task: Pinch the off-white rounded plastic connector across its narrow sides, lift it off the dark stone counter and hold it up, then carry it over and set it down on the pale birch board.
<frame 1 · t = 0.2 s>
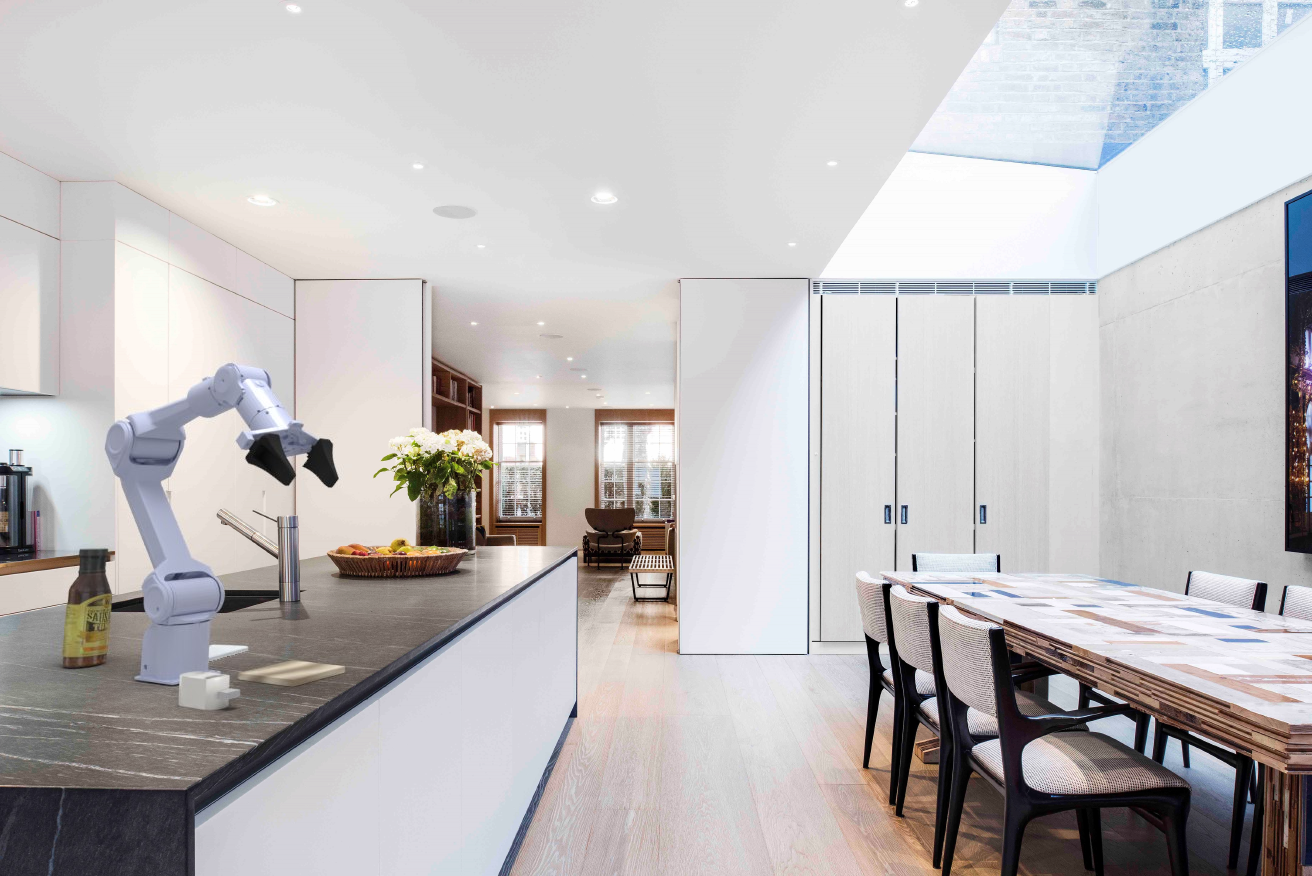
hand: (312, 481, 108), 31 cm above the counter, tool tilted 45°, fingers open, 7 cm apart
sauce bottle: (85, 666, 127), on the counter
birch board: (292, 675, 118), on the counter
connector: (203, 705, 102), on the counter
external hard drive: (202, 662, 133), on the counter
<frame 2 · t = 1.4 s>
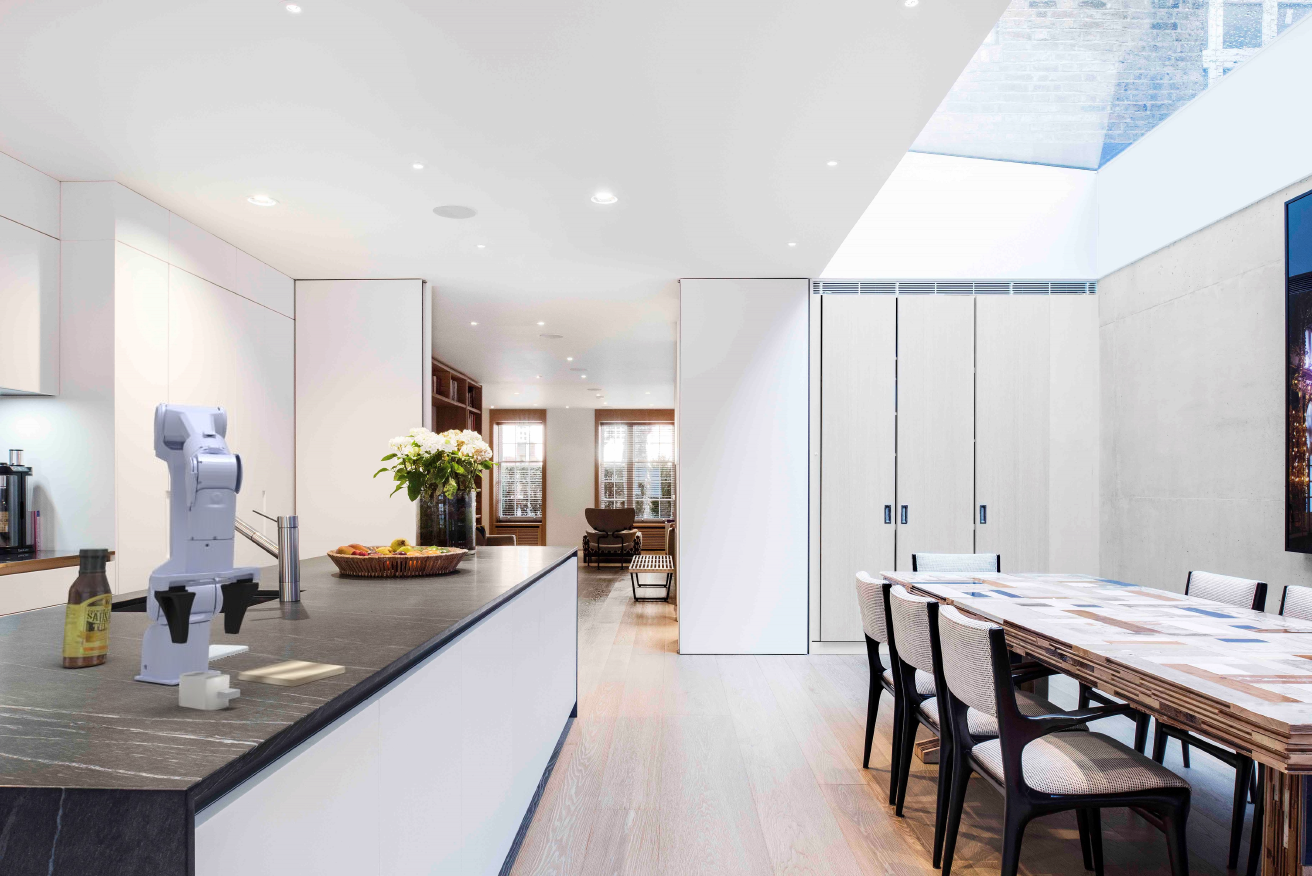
hand: (206, 638, 102), 9 cm above the counter, tool pointing down, fingers open, 7 cm apart
nothing on the counter moved.
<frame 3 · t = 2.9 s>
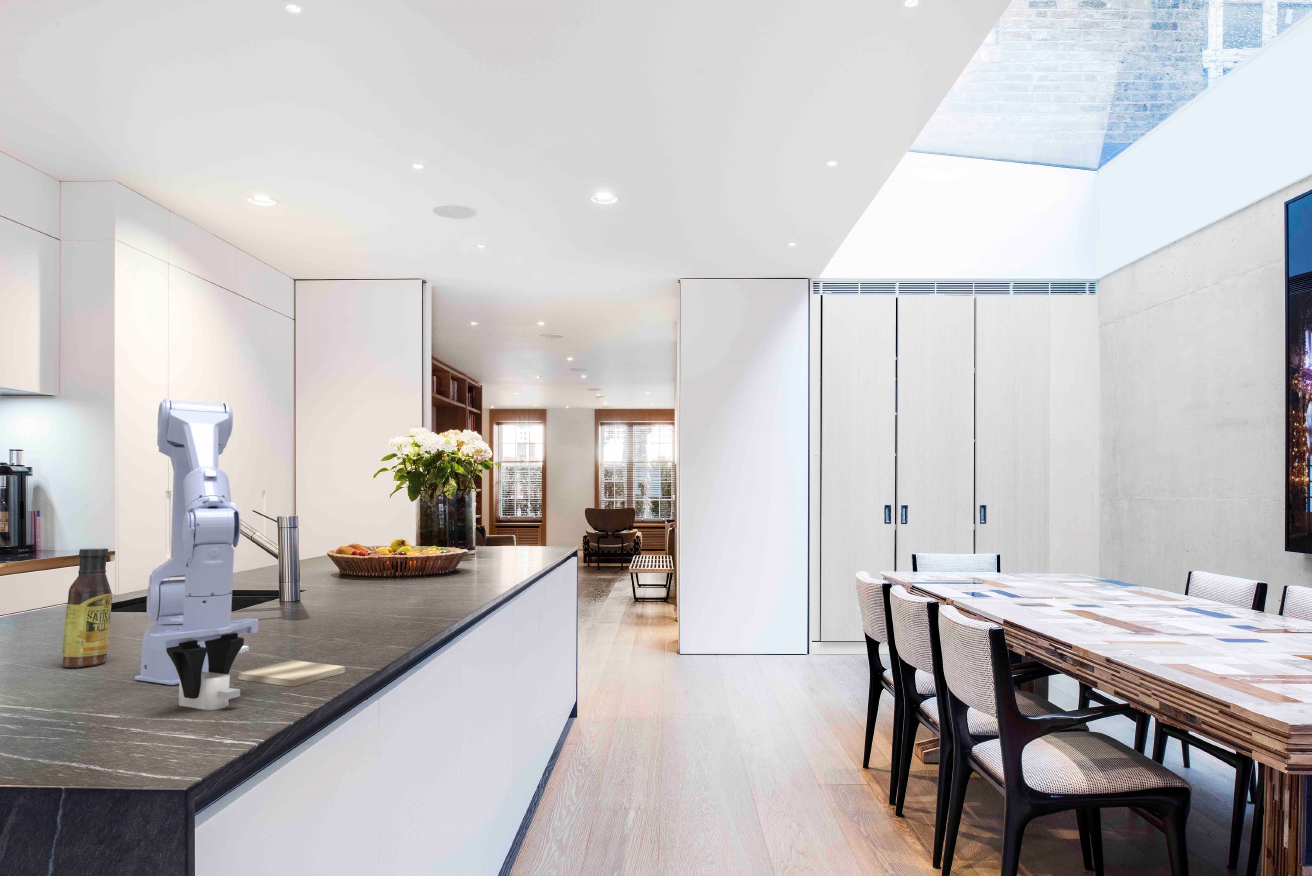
hand: (203, 694, 102), 1 cm above the counter, tool pointing down, fingers closed on connector, 3 cm apart
connector: (203, 705, 102), on the counter, touching gripper
everything else where it was.
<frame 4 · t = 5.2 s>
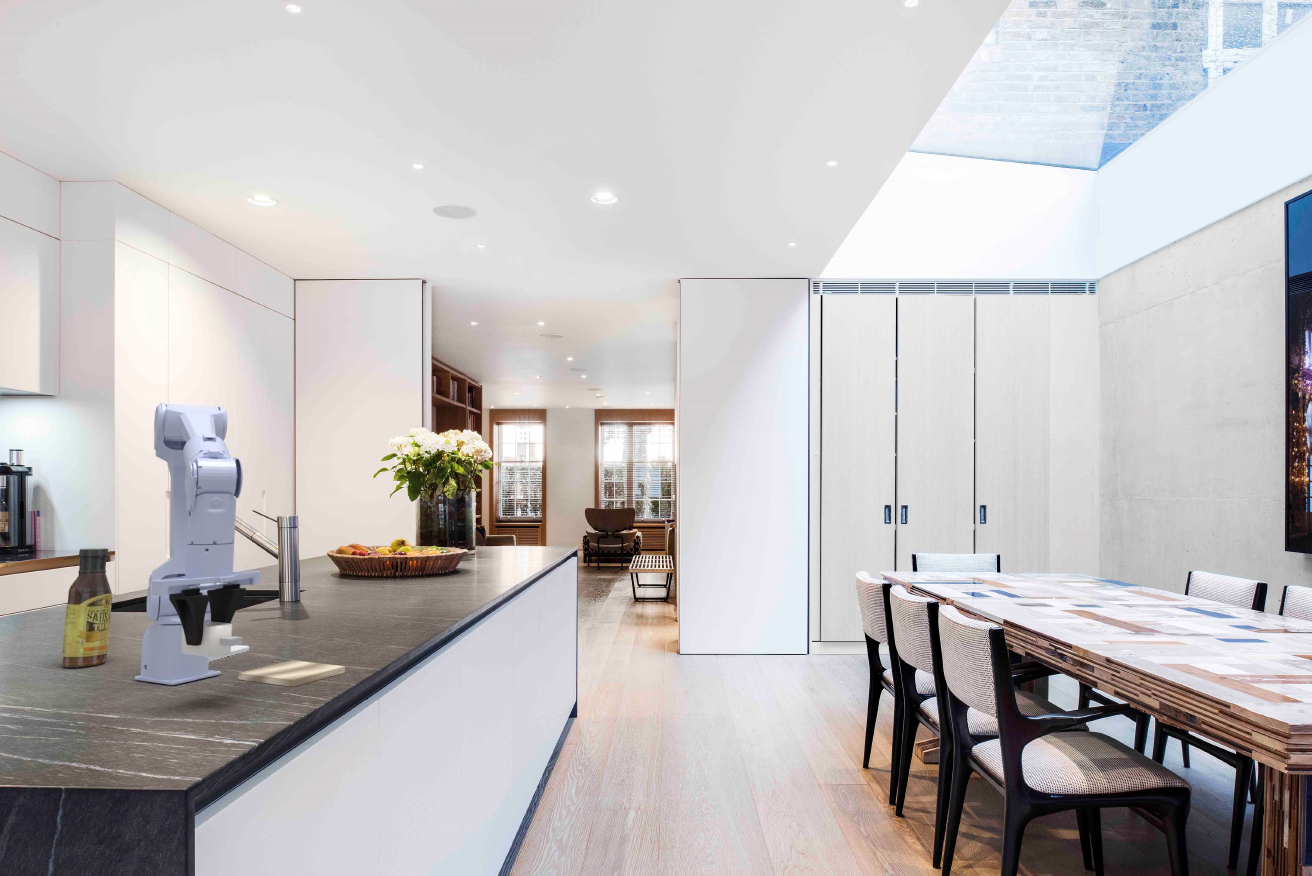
hand: (206, 642, 102), 8 cm above the counter, tool pointing down, fingers closed on connector, 3 cm apart
connector: (205, 653, 102), point 7 cm above the counter, touching gripper
everything else where it was.
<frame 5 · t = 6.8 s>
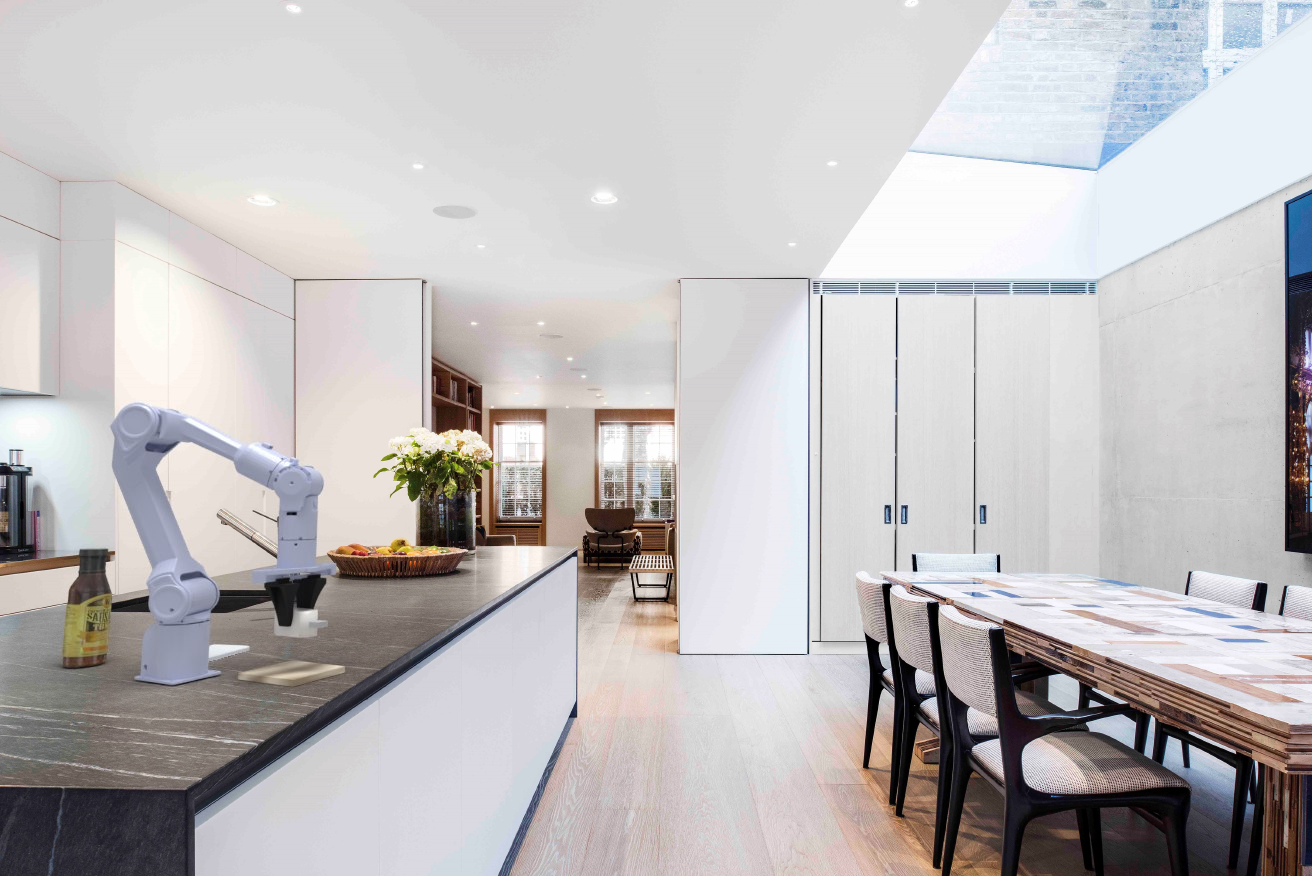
hand: (294, 624, 119), 8 cm above the counter, tool pointing down, fingers closed on connector, 3 cm apart
connector: (295, 634, 119), point 6 cm above the counter, touching gripper
everything else where it was.
when the fingers open (3 cm above the counter, at t = 7.9 s): connector stays where it is, resting on birch board.
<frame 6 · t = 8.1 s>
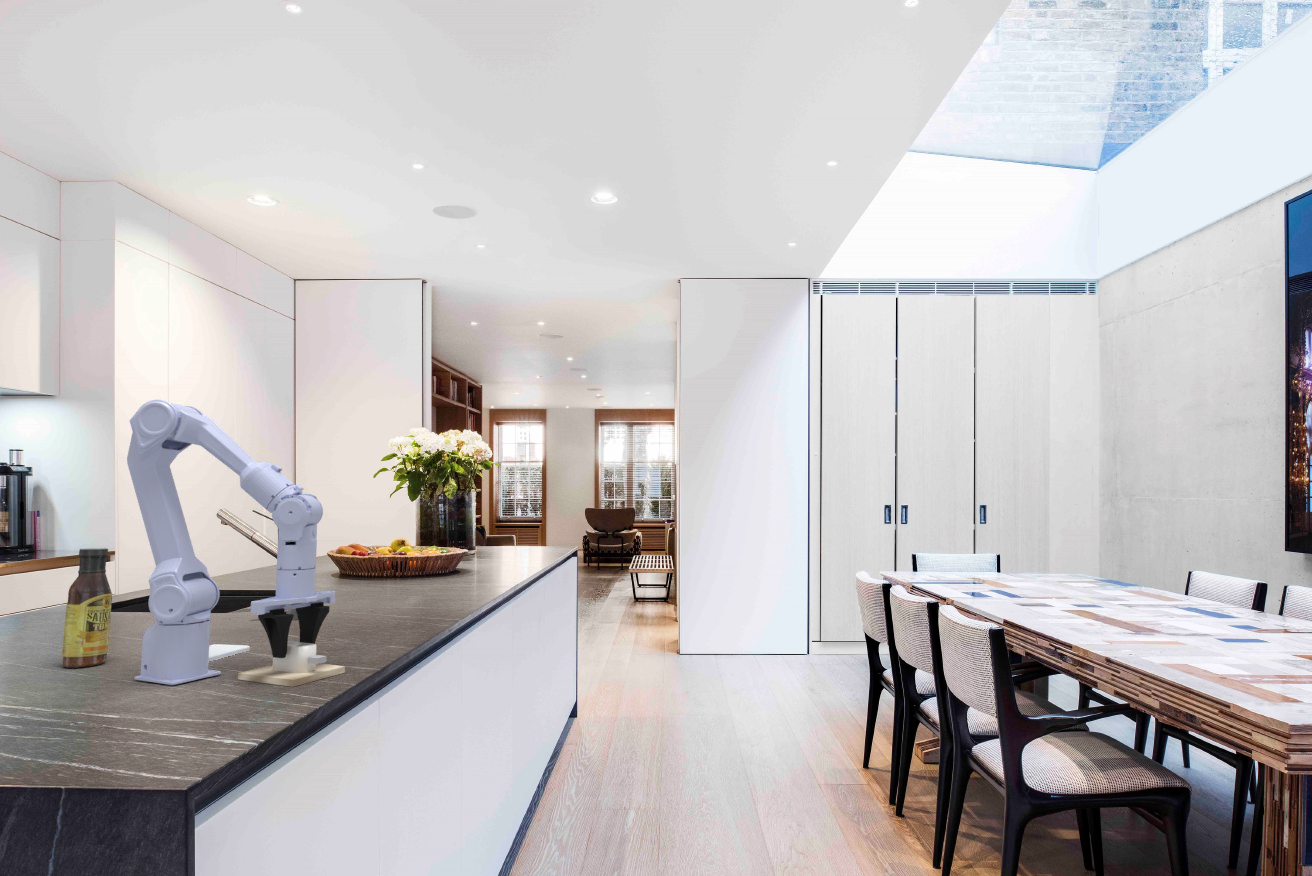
hand: (293, 654, 119), 3 cm above the counter, tool pointing down, fingers open, 5 cm apart
connector: (294, 669, 118), point 1 cm above the counter, touching birch board
everything else where it was.
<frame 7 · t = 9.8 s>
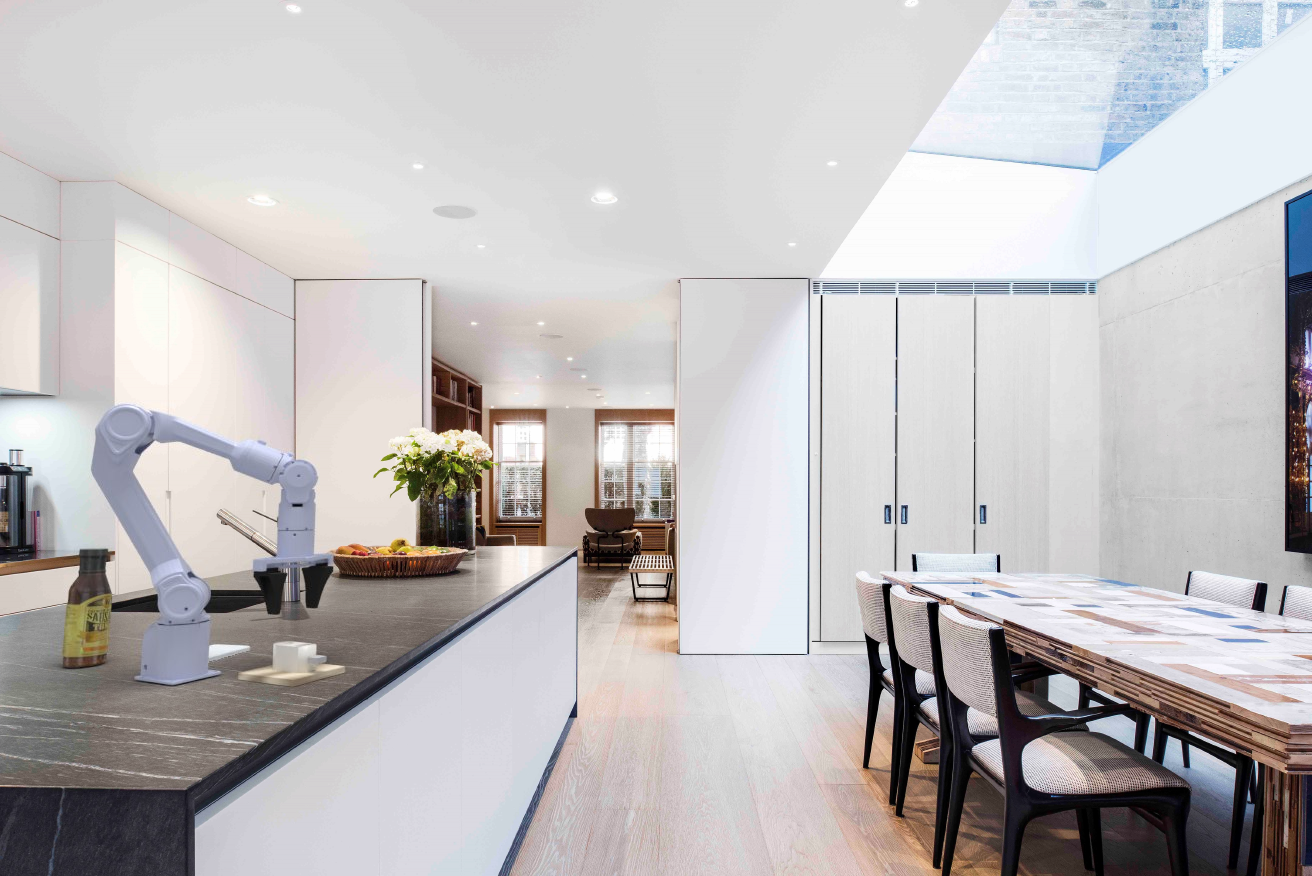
hand: (293, 611, 125), 9 cm above the counter, tool pointing down, fingers open, 7 cm apart
nothing on the counter moved.
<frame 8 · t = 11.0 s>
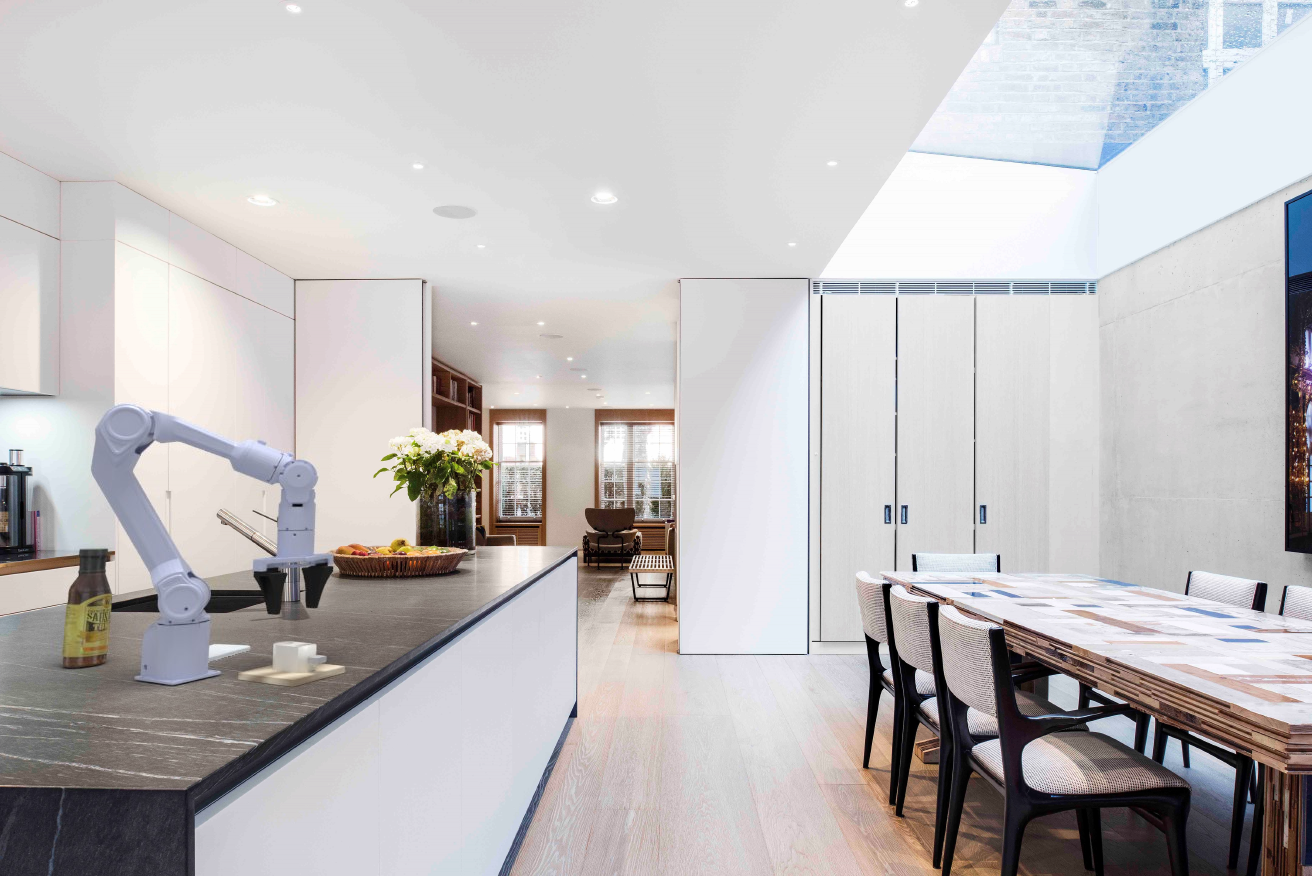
hand: (293, 611, 125), 9 cm above the counter, tool pointing down, fingers open, 7 cm apart
nothing on the counter moved.
at the end: connector inside the target area on the birch board (0.3 cm from its centre), point 1.0 cm above the birch board's base; the gripper is holding nothing; connector moved 17.3 cm from its start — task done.
